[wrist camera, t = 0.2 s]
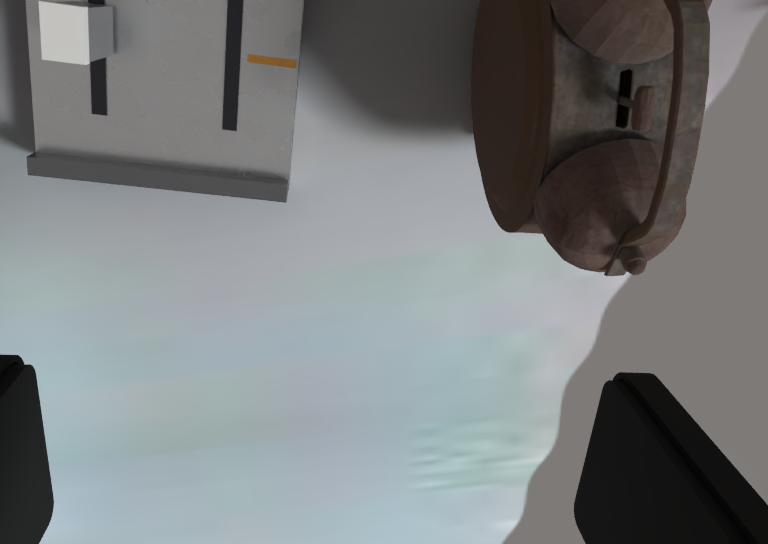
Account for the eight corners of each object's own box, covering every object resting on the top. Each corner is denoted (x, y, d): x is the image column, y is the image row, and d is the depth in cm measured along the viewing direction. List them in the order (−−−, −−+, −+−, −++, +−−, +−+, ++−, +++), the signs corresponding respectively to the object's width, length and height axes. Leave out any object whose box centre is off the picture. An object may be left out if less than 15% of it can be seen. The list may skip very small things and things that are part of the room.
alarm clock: (570, 181, 42) (762, 329, 24) (458, 186, 41) (565, 341, 23) (594, -76, 36) (872, -144, 18) (464, -73, 36) (612, -141, 17)
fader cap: (74, -1, 33) (38, 1, 29) (113, 5, 34) (83, 7, 29) (76, 51, 34) (41, 59, 30) (114, 56, 34) (85, 65, 30)
